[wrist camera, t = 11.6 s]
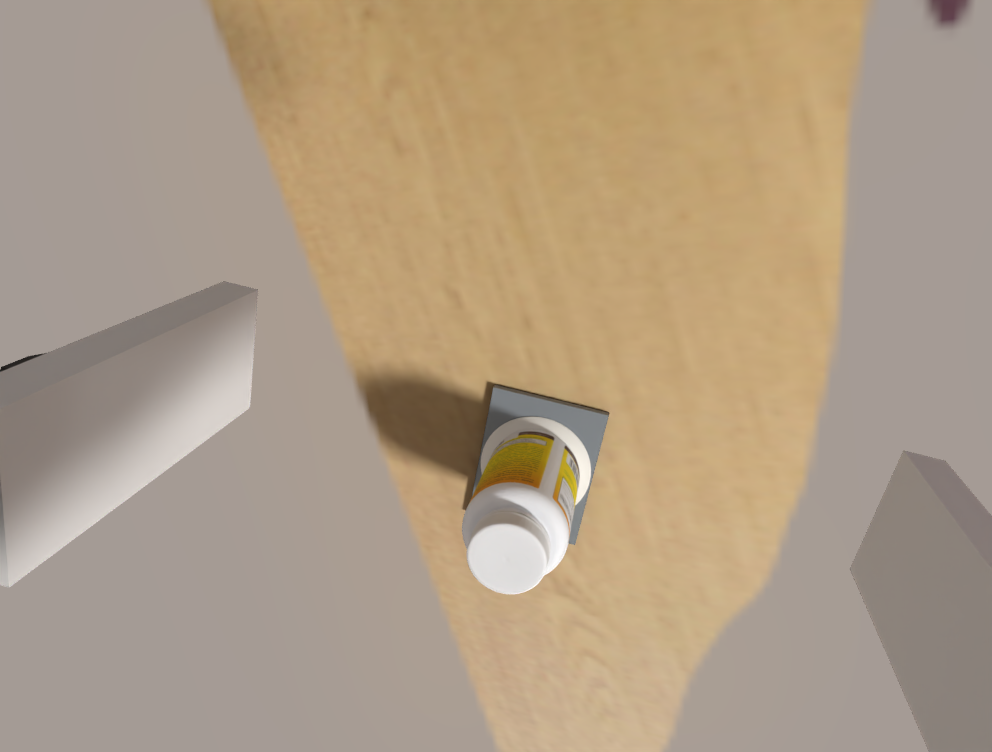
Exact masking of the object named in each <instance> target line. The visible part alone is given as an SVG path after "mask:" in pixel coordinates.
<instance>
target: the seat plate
mask: <svg viewBox="0 0 992 752" xmlns="http://www.w3.org/2000/svg"><path fill="white" fill-rule="evenodd" d="M608 416H609V413H608V412H604V411H600V410H596V409H592V408H588V407H584V406H580V405H576V404H572V403H568V402H564V401H560V400H556V399H551V398H547V397H543V396H539V395H535V394H531V393H527V392H523V391H519V390H515V389H511V388H507V387H503V386H499V385H495V386H494V387H493V392H492V397H491V402H490V407H489V412H488V417H487V422H486V427H485V433H484V438H483V443H482V448H481V453H480V458H479V463H478V468H477V473H476V478H475V483H474V488H473V493H472V496H473V494H474V491H475V489H476V487H477V485H478V483H479V481H480V479H481V476H482V474H483V472H484V470H485V468H486V466H487V463H488V461H489V459H490V457H491V455H492V453H493V451H494V450H495V448H496V447H497V445H498V444H499V443H500V442H501V441H502V440H503V439H505V438H506V437H507V436H509V435H511V434H513V433H516V432H519V431H523V430H540V431H544V432H548V433H550V434H553V435H555V436H556V437H558V438H560V439H561V440H562V441H564V442H565V443H566V444H567V445H568V446H569V448H570V449H571V450H572V452H573V453H574V455H575V457H576V459H577V462H578V466H579V471H580V478H579V487H578V491H577V497H576V503H575V509H574V515H573V520H572V525H571V531H570V537H569V542H568V543H570V544H573V545H575V543H576V539H577V535H578V531H579V528H580V524H581V520H582V516H583V512H584V508H585V505H586V501H587V497H588V493H589V489H590V485H591V482H592V478H593V474H594V470H595V466H596V462H597V459H598V455H599V451H600V447H601V443H602V439H603V435H604V432H605V428H606V424H607V420H608Z"/></svg>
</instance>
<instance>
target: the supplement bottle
mask: <svg viewBox="0 0 992 752" xmlns="http://www.w3.org/2000/svg"><path fill="white" fill-rule="evenodd" d="M579 478H580V471H579V466H578V462H577V459H576V457H575V455H574V453H573V452H572V450H571V449H570V448H569V446H568V445H567V444H566V443H565V442H564V441H562V440H561V439H560V438H558V437H556V436H555V435H553V434H550V433H548V432H544V431H540V430H523V431H519V432H516V433H513V434H511V435H509V436H507V437H506V438H505V439H503V440H502V441H501V442H500V443H499V444H498V445H497V447H496V448H495V450H494V451H493V453H492V455H491V457H490V459H489V461H488V463H487V466H486V468H485V470H484V472H483V474H482V476H481V479H480V481H479V483H478V485H477V487H476V489H475V491H474V494H473V496H472V498H471V500H470V502H469V505H468V507H467V509H466V511H465V514H464V518H463V523H462V534H463V539H464V543H465V546H466V548H467V562H468V565H469V568H470V570H471V572H472V573H473V575H474V576H475V577H476V579H477V580H478V581H479V582H480V583H482V584H483V585H484V586H486V587H487V588H489V589H491V590H493V591H496V592H499V593H504V594H519V593H523V592H526V591H528V590H530V589H532V588H533V587H535V586H536V585H537V584H538V583H539V582H540V581H541V579H542V578H543V576H544V575H546V574H548V573H549V572H551V571H552V570H553V569H554V568H555V567H556V566H557V565H558V564H559V563H560V561H561V560H562V558H563V557H564V555H565V552H566V549H567V546H568V542H569V537H570V531H571V525H572V520H573V515H574V509H575V503H576V497H577V491H578V487H579Z"/></svg>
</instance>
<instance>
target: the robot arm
mask: <svg viewBox="0 0 992 752" xmlns="http://www.w3.org/2000/svg"><path fill="white" fill-rule="evenodd" d="M257 296H258V289H253V288H249V287H245V286H241V285H237V284H233V283H229V282H225V281H223V282H221V283H219V284H216V285H214V286H211V287H209V288H206V289H204V290H201V291H199V292H196V293H194V294H191V295H189V296H186V297H184V298H182V299H179V300H177V301H174V302H172V303H169V304H167V305H164V306H162V307H159V308H157V309H154V310H152V311H149V312H147V313H145V314H142V315H140V316H137V317H135V318H132V319H130V320H127V321H125V322H122V323H120V324H117V325H115V326H112V327H110V328H108V329H105V330H103V331H100V332H98V333H95V334H93V335H90V336H88V337H85V338H83V339H80V340H78V341H76V342H73V343H70V344H68V345H66V346H63V347H61V348H58V349H56V350H53V351H51V352H48V353H44V354H39V355H34V356H28V357H26V358H23V359H21V360H18V361H15V362H13V363H10V364H8V365H5V366H3V367H1V370H0V585H3V586H6V587H10V586H12V585H13V584H14V583H15V582H17V581H18V580H20V579H21V578H22V577H24V576H25V575H26V574H28V573H29V572H30V571H32V570H33V569H34V568H36V567H37V566H39V565H40V564H41V563H43V562H44V561H45V560H46V559H48V558H49V557H51V556H52V555H53V554H55V553H56V552H57V551H59V550H60V549H61V548H63V547H64V546H65V545H67V544H68V543H69V542H70V541H72V540H73V539H74V538H76V537H77V536H79V535H80V534H81V533H83V532H84V531H85V530H87V529H88V528H89V527H91V526H92V525H93V524H95V523H96V522H97V521H99V520H100V519H101V518H103V517H104V516H105V515H107V514H108V513H109V512H111V511H112V510H114V509H115V508H116V507H117V506H119V505H120V504H122V503H123V502H124V501H126V500H127V499H128V498H129V497H131V496H132V495H134V494H135V493H136V492H137V491H139V490H140V489H142V488H143V487H144V486H146V485H147V484H148V483H150V482H151V481H152V480H154V479H155V478H156V477H158V476H159V475H160V474H162V473H163V472H164V471H165V470H167V469H168V468H170V467H171V466H172V465H174V464H175V463H176V462H178V461H179V460H180V459H182V458H183V457H184V456H186V455H187V454H188V453H190V452H191V451H192V450H194V449H195V448H196V447H198V446H199V445H201V444H202V443H203V442H205V441H206V440H207V439H208V438H210V437H211V436H213V435H214V434H215V433H217V432H218V431H219V430H221V429H222V428H223V427H225V426H226V425H227V424H229V423H230V422H231V421H233V420H234V419H235V418H237V417H238V416H239V415H241V414H242V413H243V412H245V411H246V410H247V409H249V408H250V399H251V384H252V370H253V355H254V340H255V326H256V311H257ZM850 571H851V573H852V575H853V577H854V580H855V582H856V584H857V587H858V589H859V591H860V594H861V596H862V598H863V601H864V603H865V605H866V608H867V610H868V612H869V614H870V617H871V619H872V621H873V624H874V626H875V628H876V631H877V633H878V635H879V638H880V640H881V642H882V644H883V647H884V649H885V651H886V654H887V656H888V658H889V661H890V663H891V665H892V668H893V670H894V672H895V674H896V677H897V679H898V681H899V684H900V686H901V688H902V691H903V693H904V695H905V698H906V700H907V702H908V704H909V707H910V709H911V711H912V714H913V716H914V718H915V720H916V723H917V725H918V728H919V730H920V732H921V735H922V737H923V739H924V741H925V744H926V746H927V748H928V751H929V752H992V516H991V514H990V513H989V512H988V511H987V510H986V509H985V507H984V506H983V505H982V504H981V503H980V501H979V500H978V499H977V498H976V497H975V496H974V494H973V493H972V492H971V491H970V489H969V488H968V487H967V486H966V485H965V484H964V482H963V481H962V480H961V479H960V478H959V476H958V475H957V474H956V473H955V472H954V470H953V469H952V468H951V467H950V466H949V464H948V463H947V462H946V461H944V460H940V459H936V458H932V457H928V456H924V455H920V454H916V453H912V452H908V451H903V453H902V455H901V457H900V459H899V462H898V464H897V466H896V468H895V470H894V473H893V475H892V477H891V480H890V482H889V484H888V486H887V488H886V490H885V493H884V495H883V497H882V499H881V501H880V504H879V506H878V508H877V510H876V512H875V515H874V517H873V519H872V522H871V523H870V526H869V528H868V530H867V532H866V535H865V537H864V539H863V541H862V544H861V546H860V548H859V550H858V552H857V554H856V557H855V559H854V561H853V564H852V566H851V568H850Z"/></svg>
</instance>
